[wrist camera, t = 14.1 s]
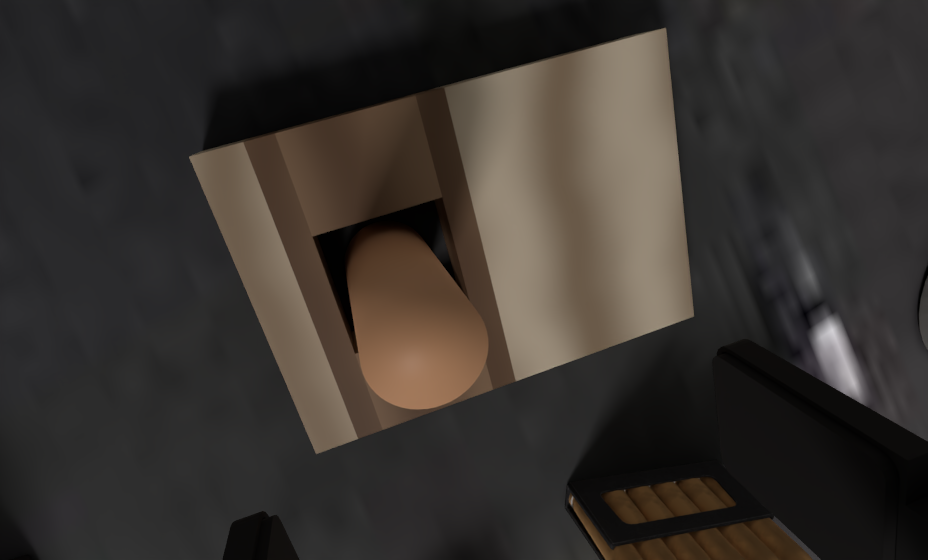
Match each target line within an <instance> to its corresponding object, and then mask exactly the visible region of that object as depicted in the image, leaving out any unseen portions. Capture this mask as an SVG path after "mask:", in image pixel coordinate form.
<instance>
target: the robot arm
mask: <svg viewBox="0 0 928 560" xmlns="http://www.w3.org/2000/svg"><path fill="white" fill-rule="evenodd" d="M919 327H920V333H921V336H922V339H923V343H924V345H925V347H926V348H927V350H928V276H927V278H926V280H925V284H924V287H923V291H922V295H921V299H920V307H919ZM712 365H713V376H714V386H715V397H716V408H717V418H718V429H719V440H720V450H721V458H722V461H723V464H724V466H725V468H726V469H727V471H728V472H729V473H730V474H731V475H732V476H733V477H734V478H735V479H736V480H737V481H738V482H739V483H740V484H741V485H742V486H743V487H744V488H746V489H747V490H748V491H749V492H750V493H751V494H752V495H753V496H754V497H755V498H756V499H757V500H758V501H759V502H760V503H762V504H763V505H764V506H765V507H766V508H767V509H768V510H769V511H770V512H771V513H772V514H773V515H774V516H775V517H776V518H778V519H779V520H780V521H781V522H782V523H783V524H784V525H785V526H786V527H787V528H788V529H789V530H790V531H791V532H792V533H794V534H795V535H796V536H797V537H798V538H799V539H800V540H801V541H802V542H803V543H804V544H805V545H806V546H807V547H808V548H810V549H811V550H812V551H813V552H814V553H815V554H816V555H817V556H818V557H819V558H820V559H821V560H928V442H927V441H926V440H924V439H922V438H920V437H919V436H917V435H915V434H913V433H912V432H910V431H908V430H906V429H905V428H903V427H901V426H899V425H898V424H896V423H894V422H892V421H891V420H889V419H887V418H885V417H884V416H882V415H880V414H878V413H877V412H875V411H873V410H871V409H870V408H868V407H866V406H864V405H863V404H861V403H859V402H857V401H856V400H854V399H852V398H850V397H849V396H847V395H845V394H843V393H842V392H840V391H838V390H836V389H835V388H833V387H831V386H829V385H828V384H826V383H824V382H822V381H820V380H819V379H817V378H815V377H813V376H812V375H810V374H808V373H806V372H805V371H803V370H801V369H799V368H798V367H796V366H794V365H792V364H791V363H789V362H787V361H785V360H784V359H782V358H780V357H778V356H777V355H775V354H773V353H771V352H770V351H768V350H766V349H764V348H763V347H761V346H759V345H757V344H756V343H754V342H752V341H750V340H747V339H743V340H740V341H737V342H734V343H732V344H729V345H726V346H723V347H721V348H720V349H718V352H717V356H716V357H714V358H713V362H712ZM223 560H299V558H298V556H297V554H296V552H295V549H294V547H293V545H292V543H291V541H290V539H289V537H288V535H287V533H286V531H285V529H284V527H283V524H282V522H281V520H280V519H279V517H278V516H277V515H274V516H271V517H269V516H268V514H267V513H266V512H264V511H262V512H259V513H256V514H253V515H251V516H248V517H245V518H242V519H239V520H237V521H234V522H233V523H232V525H231V527H230V531H229V535H228V539H227V544H226V548H225V552H224V556H223Z"/></svg>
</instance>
